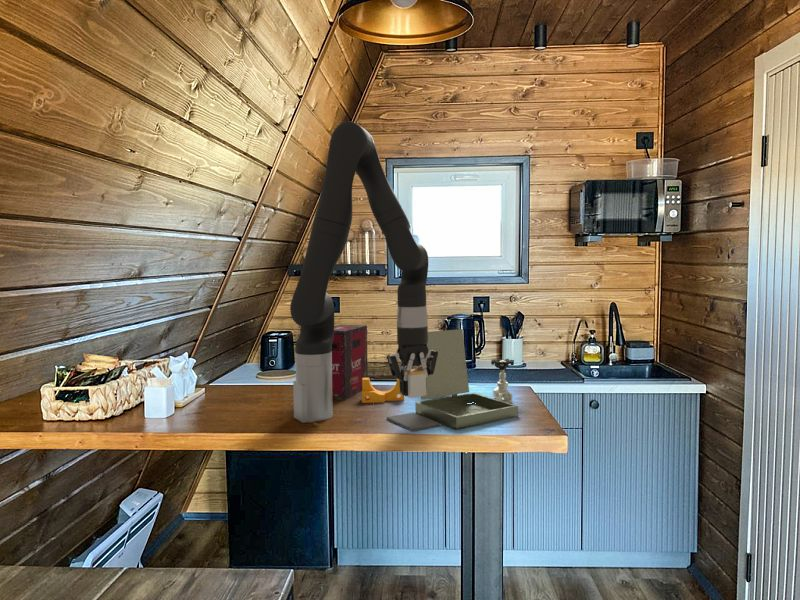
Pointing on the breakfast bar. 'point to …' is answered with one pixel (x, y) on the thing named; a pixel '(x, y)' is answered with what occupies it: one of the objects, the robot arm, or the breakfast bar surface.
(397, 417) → the mat
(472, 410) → the case
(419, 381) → the block
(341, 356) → the box
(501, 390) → the valve
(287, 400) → the breakfast bar surface
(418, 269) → the robot arm
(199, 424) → the breakfast bar surface
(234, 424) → the breakfast bar surface
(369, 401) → the pipe clamp
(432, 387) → the lid
